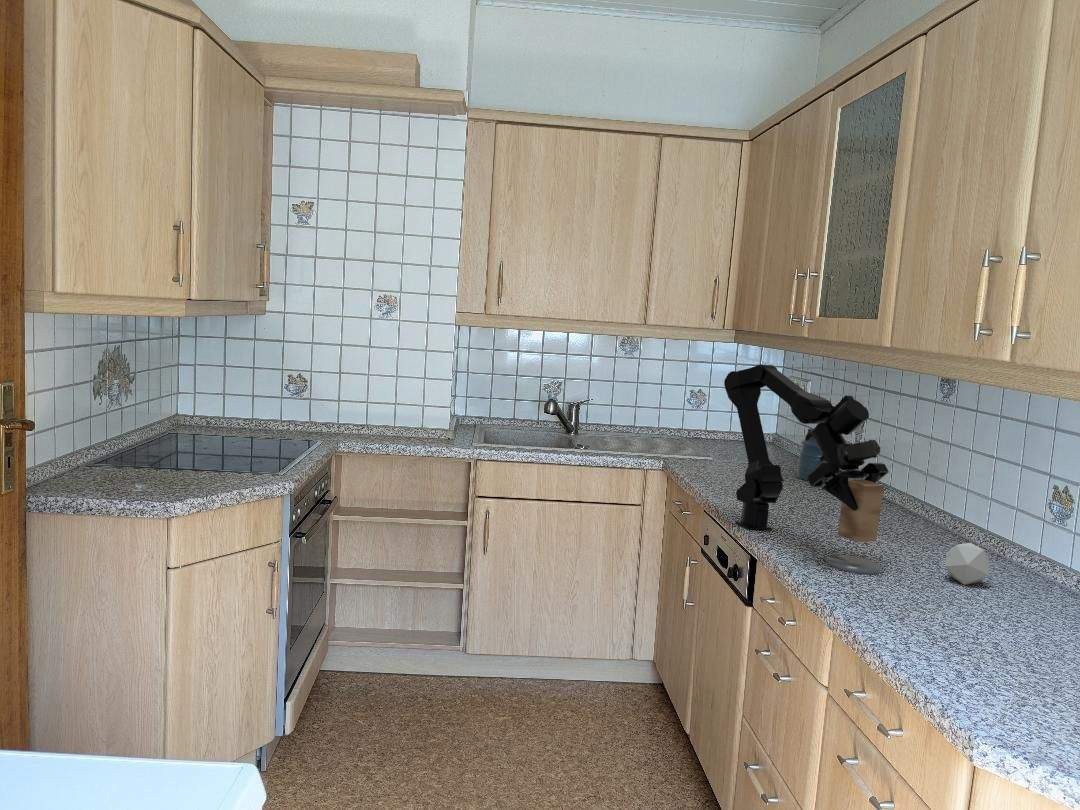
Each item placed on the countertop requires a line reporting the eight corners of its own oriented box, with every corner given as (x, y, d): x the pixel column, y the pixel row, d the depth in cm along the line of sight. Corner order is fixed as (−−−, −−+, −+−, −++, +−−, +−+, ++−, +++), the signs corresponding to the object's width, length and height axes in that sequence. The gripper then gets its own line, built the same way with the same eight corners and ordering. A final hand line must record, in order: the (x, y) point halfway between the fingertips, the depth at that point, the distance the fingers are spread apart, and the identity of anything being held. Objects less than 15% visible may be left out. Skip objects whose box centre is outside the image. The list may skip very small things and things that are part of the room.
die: (958, 576, 188) (937, 539, 186) (1000, 566, 183) (978, 528, 181) (955, 598, 181) (934, 560, 180) (998, 588, 176) (976, 550, 175)
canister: (840, 486, 278) (848, 431, 276) (798, 481, 280) (805, 426, 278) (834, 478, 291) (841, 426, 289) (794, 473, 293) (801, 422, 291)
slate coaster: (815, 558, 189) (815, 555, 189) (856, 557, 192) (857, 554, 192) (848, 575, 178) (849, 571, 178) (892, 574, 182) (892, 570, 182)
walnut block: (837, 534, 186) (845, 479, 184) (855, 533, 188) (863, 479, 187) (857, 542, 181) (865, 485, 180) (876, 541, 184) (884, 485, 182)
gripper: (825, 425, 181) (859, 490, 173) (887, 426, 190) (923, 488, 181) (793, 454, 189) (824, 518, 181) (854, 454, 198) (887, 515, 189)
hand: (866, 509), depth 183 cm, fingers closed on walnut block, 5 cm apart
